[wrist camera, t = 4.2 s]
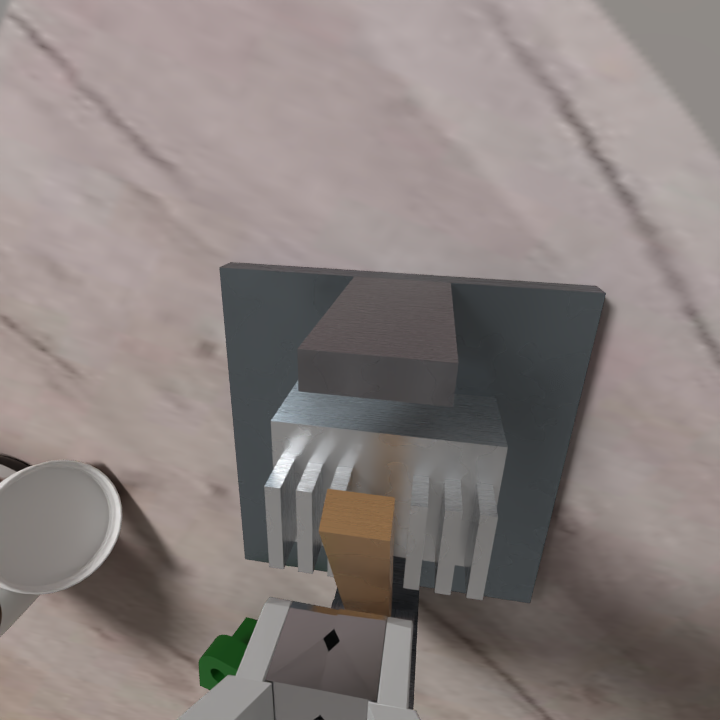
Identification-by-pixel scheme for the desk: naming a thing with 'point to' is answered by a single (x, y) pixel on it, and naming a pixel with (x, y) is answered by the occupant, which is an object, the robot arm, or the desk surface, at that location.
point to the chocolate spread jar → (52, 529)
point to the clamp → (225, 655)
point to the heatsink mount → (406, 416)
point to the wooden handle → (361, 551)
